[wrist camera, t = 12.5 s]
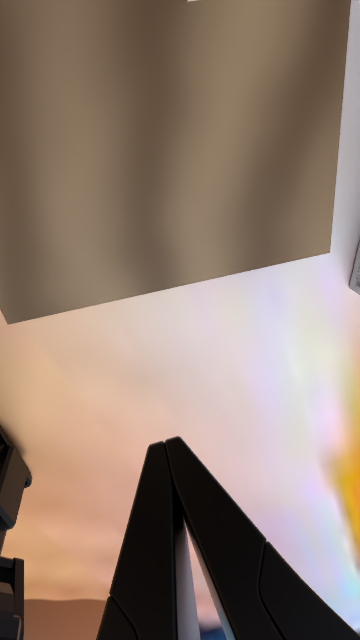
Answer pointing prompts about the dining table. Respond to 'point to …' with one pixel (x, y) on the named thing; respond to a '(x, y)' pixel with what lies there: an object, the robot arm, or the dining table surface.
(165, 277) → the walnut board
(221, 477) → the dining table surface
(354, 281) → the coffee box
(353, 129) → the dining table surface
